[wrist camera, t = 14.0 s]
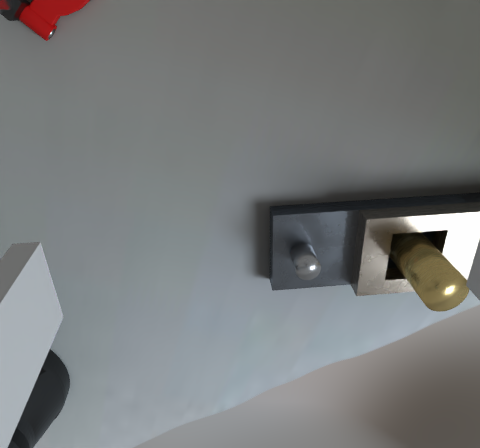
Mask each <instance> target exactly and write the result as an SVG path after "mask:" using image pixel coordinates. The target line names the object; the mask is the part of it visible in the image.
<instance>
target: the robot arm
mask: <svg viewBox="0 0 480 448" xmlns="http://www.w3.org/2000/svg"><path fill="white" fill-rule="evenodd" d="M466 286H467V287H468V288H469V289H470V290H471V291H472V292H473V294H474V295H475V296H476V297H477V298H478V299H479V300H480V238H479V242H478V245H477V249H476V252H475V256H474V259H473V262H472V266H471V269H470V273H469V276H468V280H467V283H466ZM62 319H63V314H62V311H61V307H60V304H59V301H58V298H57V294H56V291H55V288H54V285H53V281H52V278H51V275H50V271H49V268H48V265H47V262H46V258H45V255H44V252H43V249H42V245H41V242H34V243H20V244H12V245H11V247H10V248H9V249H8V251H7V252H6V253H5V255H4V256H3V257H2V259H1V260H0V448H33V447H34V446H35V444H36V443H37V442H38V441H39V439H40V438H41V437H42V435H43V434H44V433H45V431H46V430H47V429H48V427H49V426H50V425H51V423H52V422H53V420H54V419H55V418H56V417H57V416H58V415H59V413H60V412H61V410H62V408H63V406H64V403H65V400H66V397H67V394H68V391H69V387H70V379H69V374H68V371H67V369H66V367H65V365H64V364H63V362H62V361H61V360H60V358H59V357H58V356H57V355H56V354H55V353H54V352H52V351H51V350H50V347H51V345H52V343H53V340H54V338H55V336H56V333H57V331H58V329H59V326H60V324H61V322H62Z"/></svg>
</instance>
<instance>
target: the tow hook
mask: <svg viewBox="0 0 480 448" xmlns="http://www.w3.org/2000/svg"><path fill="white" fill-rule="evenodd" d="M89 1H90V0H32V2H31V4H30V3H29V2H28V1H27V0H0V14H1V15H3V16H4V17H5V18H7V19H8V20H9V21H16V20H20V21H21V22H23V23H24V24H25V25H26V26H28V27H29V28H30V29H32V30H33V31H34V32H35V33H37V34H38V35H39V36H41V37H42V38H43V39H45V40H46V41H47V40H49V39H50V38H51V37H52V36H53V34H54V33H55V31H56V28H57V26H56V25H55V24H56V22H57V21H58V19H59V18H60V16H65V15H69V14H71V13H74V12H76V11H78V10H80V9H81V8H83V7H84V6H85V5H86V4H87V3H88V2H89Z"/></svg>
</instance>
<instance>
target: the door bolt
mask: <svg viewBox="0 0 480 448" xmlns="http://www.w3.org/2000/svg"><path fill="white" fill-rule="evenodd" d="M411 232H424V235H425V237H426V238H427V239H428V240H429V241H430V242H431V243H432V244H433V245H434V246H435V247H436V248H437V249H438V250H439V251H440V252H441V253H442V254H443V255H444V256H445V257H446V259H447V260H448V261H449V262H450V263H451V264H452V265H453V266H454V267H455V268H456V269H457V270H458V271H459V272H460V273H461V274H462V275H463V276H464V277H465V278H466V280H468V276H469V273H470V269H471V266H472V262H473V259H474V256H475V252H476V249H477V245H478V242H479V238H480V193H469V194H454V195H439V196H424V197H409V198H393V199H378V200H363V201H348V202H333V203H317V204H302V205H287V206H272V207H270V283H271V287H272V290H285V289H297V288H310V287H323V286H336V285H349V284H351V286H352V288H353V290H354V292H355V294H356V296H364V295H376V294H389V293H401V292H414V291H415V290H414V289H413V288H412V286H411V285H410V283H409V282H408V281H407V279H406V278H405V277H404V275H403V274H402V273H401V271H400V270H399V269H398V267H397V266H396V265H395V263H394V262H393V260H392V259H391V258H390V257H389V253H390V247H391V241H392V235H393V234H397V233H411Z"/></svg>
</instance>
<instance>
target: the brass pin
mask: <svg viewBox="0 0 480 448" xmlns="http://www.w3.org/2000/svg"><path fill="white" fill-rule="evenodd" d="M389 256H390V258H391V259H392V260H393V262H394V263H395V265H396V266H397V267H398V269H399V270H400V271H401V273H402V274H403V275H404V277H405V278H406V279H407V281H408V282H409V283H410V285H411V286H412V288H413V289H414V290H415V292H416V293H417V294H418V296H419V297H420V298H421V300H422V301H423V302H424V304H425V305H426V306H427V307H428V308H429V309H431V310H433V311H447V310H450V309H452V308H454V307H456V306H458V305H459V304H460V303H461V302H462V301H463V300H464V299H465V298H466V296H467V294H468V292H469V288H468V287H467V286H466V283H467V280H466V278H465V277H464V276H463V275H462V274H461V273H460V272H459V271H458V270H457V269H456V268H455V267H454V266H453V265H452V264H451V263H450V262H449V261H448V260H447V259H446V257H445V256H444V255H443V254H442V253H441V252H440V251H439V250H438V249H437V248H436V247H435V246H434V245H433V244H432V243H431V242H430V241H429V240H428V239H427V238H426V237H425V235H424V234H423V233H422V232H411V233H397V234H393V235H392V241H391V247H390V253H389Z"/></svg>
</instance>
